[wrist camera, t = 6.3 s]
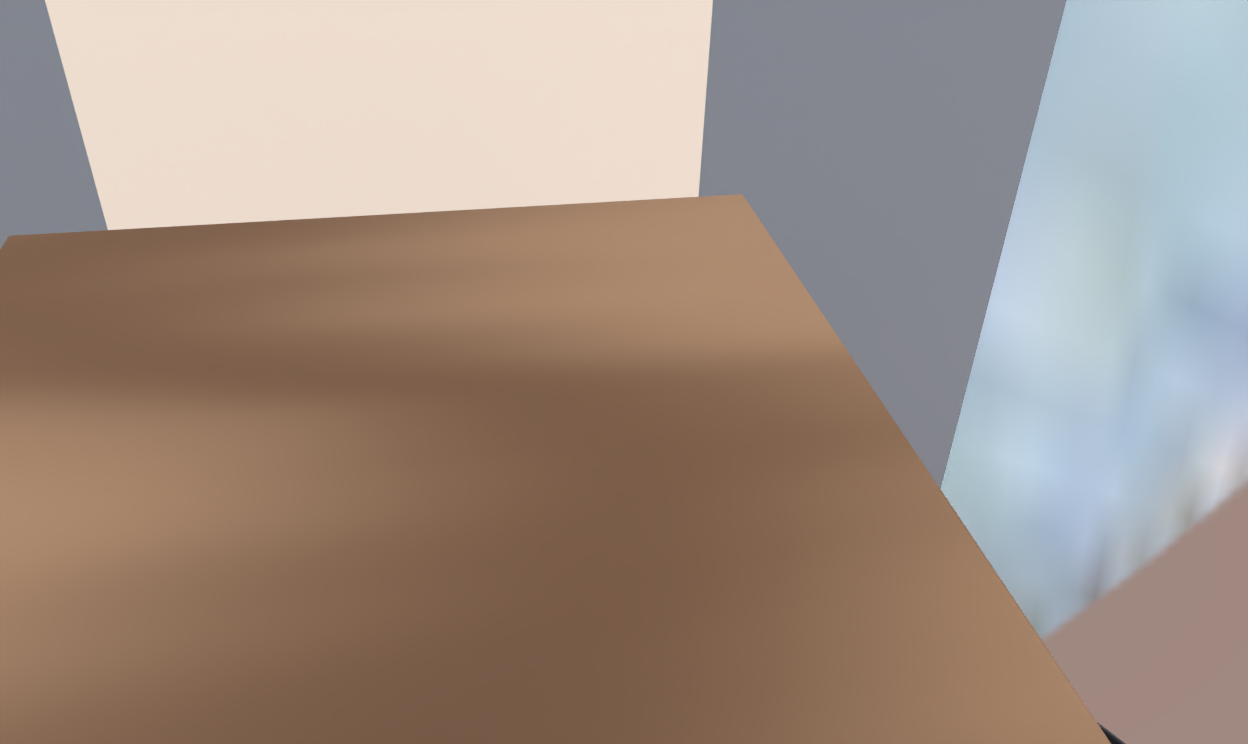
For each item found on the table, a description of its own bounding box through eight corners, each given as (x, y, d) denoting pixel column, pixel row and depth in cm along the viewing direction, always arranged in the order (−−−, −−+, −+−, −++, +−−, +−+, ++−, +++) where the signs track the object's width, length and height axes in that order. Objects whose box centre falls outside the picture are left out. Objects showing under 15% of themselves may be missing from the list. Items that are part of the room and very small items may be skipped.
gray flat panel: (-410, 637, 15) (-451, 687, 14) (-1513, -804, 7) (-1732, -855, 6) (912, 492, 18) (934, 527, 18) (1168, -584, 10) (1228, -602, 10)
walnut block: (171, 722, 10) (26, 1489, 6) (8, 236, 7) (-512, 1070, 3) (695, 652, 11) (894, 1274, 7) (743, 194, 8) (1137, 787, 4)
